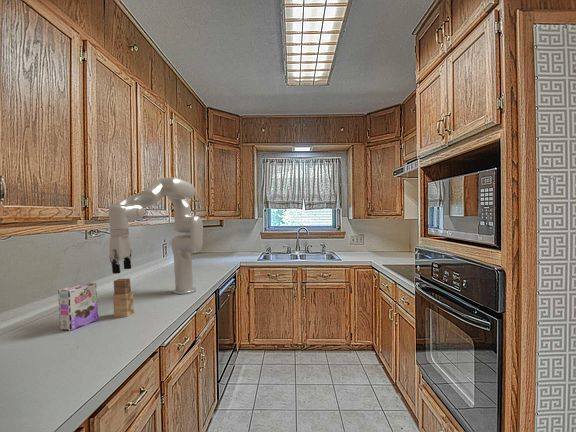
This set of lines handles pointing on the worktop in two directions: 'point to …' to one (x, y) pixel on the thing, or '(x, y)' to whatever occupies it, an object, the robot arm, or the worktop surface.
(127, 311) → the tower base
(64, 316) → the candy box
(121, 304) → the tower top
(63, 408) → the worktop surface
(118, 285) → the walnut cube
